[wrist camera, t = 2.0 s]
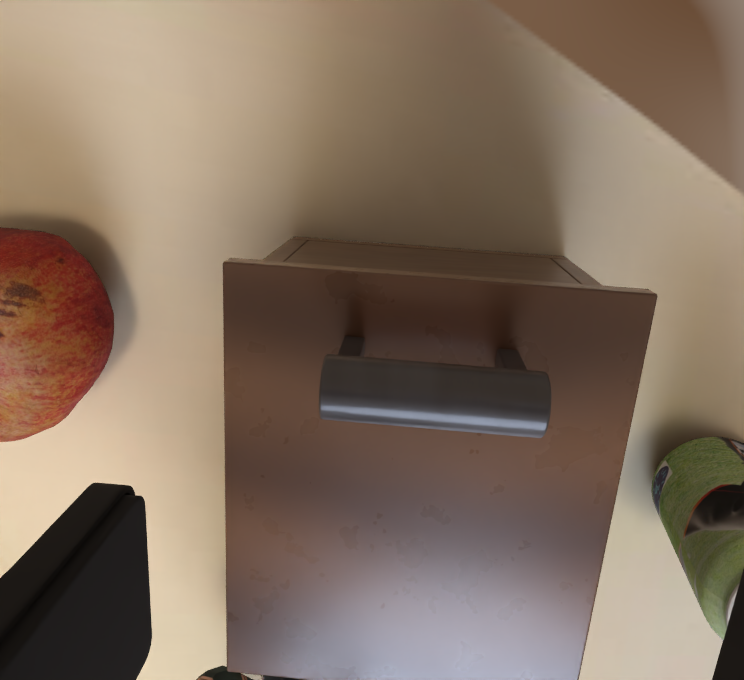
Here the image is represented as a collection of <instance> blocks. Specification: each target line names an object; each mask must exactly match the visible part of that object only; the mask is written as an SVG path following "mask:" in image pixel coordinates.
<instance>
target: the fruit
mask: <svg viewBox="0 0 744 680" xmlns="http://www.w3.org/2000/svg"><path fill="white" fill-rule="evenodd" d="M113 334H114V314H113V310H112V307H111V304H110V301H109V298H108V295H107V292H106V290H105V288H104V286H103V284H102V282H101V280H100V279H99V277H98V275H97V273H96V272H95V271H94V269H93V268H92V266H91V265H90V263H89V262H88V261H87V260H86V259H85V258H84V257H83V256H82V255H81V254H80V253H79V252H78V251H77V250H75V249H74V248H73V247H72V246H71V245H70V244H69V243H68V242H67V241H66V240H65V239H63V238H62V237H60V236H57V235H54V234H50V233H46V232H41V231H33V230H23V229H16V228H1V227H0V442H7V441H16V440H20V439H24V438H27V437H29V436H32V435H34V434H36V433H39V432H41V431H44V430H46V429H48V428H51V427H53V426H55V425H56V424H58V423H60V422H61V421H62V420H63V419H64V418H66V417H67V416H68V415H69V413H70V412H71V411H72V410H73V408H74V407H75V406H76V404H77V403H78V402H79V401H80V400H81V399H82V397H83V396H84V395H85V394H86V393H87V392H88V391H89V389H90V388H91V387H92V386H93V384H94V382H95V381H96V379H97V378H98V377H99V375H100V374H101V372H102V370H103V369H104V367H105V365H106V363H107V361H108V358H109V355H110V352H111V349H112V344H113Z"/></svg>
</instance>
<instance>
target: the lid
mask: <svg viewBox="0 0 744 680" xmlns="http://www.w3.org/2000/svg"><path fill="white" fill-rule="evenodd" d="M656 301H657V294H655V293H654V292H652V291H651V290H649V289H640V288H627V287H613V286H600V285H587V284H573V283H560V282H546V281H533V280H520V279H506V278H493V277H480V276H466V275H453V274H440V273H426V272H413V271H400V270H386V269H373V268H360V267H346V266H333V265H319V264H306V263H293V262H279V261H266V260H253V259H239V258H229V259H228V260H226V261H224V262H223V318H224V419H225V520H226V622H227V671H228V672H237V673H246V674H256V675H265V676H275V677H284V678H294V679H303V680H578V679H579V674H580V669H581V665H582V660H583V655H584V650H585V645H586V640H587V635H588V631H589V626H590V621H591V616H592V611H593V606H594V601H595V597H596V592H597V587H598V582H599V577H600V572H601V567H602V563H603V558H604V553H605V548H606V543H607V538H608V534H609V529H610V524H611V519H612V514H613V509H614V504H615V500H616V495H617V490H618V485H619V480H620V475H621V470H622V466H623V461H624V456H625V451H626V446H627V441H628V436H629V432H630V427H631V422H632V417H633V412H634V407H635V402H636V398H637V393H638V388H639V383H640V378H641V373H642V368H643V364H644V359H645V354H646V349H647V344H648V339H649V334H650V330H651V325H652V320H653V315H654V310H655V305H656Z"/></svg>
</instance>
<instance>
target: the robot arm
mask: <svg viewBox="0 0 744 680" xmlns="http://www.w3.org/2000/svg"><path fill="white" fill-rule="evenodd" d="M151 639H152V628H151V609H150V589H149V570H148V551H147V531H146V512H145V501H144V499H143V497H142V496H135V492H134V490H133V488H132V487H131V486H128V485H117V484H105V483H93V484H91V485H90V486H89V487H88V488H87V489H86V490H85V491H84V492H83V493H82V494H81V495H80V496H79V497H78V498H77V499H76V500H75V501H74V502H73V503H72V504H71V506H70V507H69V508H68V509H67V510H66V511H65V512H64V513H63V514H62V515H61V516H60V517H59V518H58V519H57V520H56V521H55V522H54V523H53V524H52V525H51V526H50V528H49V529H48V530H47V531H46V532H45V533H44V534H43V535H42V536H41V537H40V538H39V539H38V540H37V541H36V542H35V543H34V544H33V545H32V546H31V547H30V549H29V550H28V551H27V552H26V553H25V554H24V555H23V556H22V557H21V558H20V559H19V560H18V561H17V562H16V563H15V564H14V565H13V566H12V567H11V568H10V569H9V570H8V571H7V572H6V573H5V574H4V575H3V576H2V577H1V578H0V680H136V679H137V677H138V675H139V673H140V671H141V669H142V667H143V665H144V663H145V661H146V659H147V656H148V653H149V650H150V646H151ZM712 680H744V569H743V573H742V576H741V580H740V583H739V587H738V590H737V594H736V597H735V601H734V604H733V608H732V612H731V615H730V619H729V622H728V626H727V629H726V633H725V636H724V640H723V643H722V647H721V650H720V654H719V658H718V661H717V665H716V668H715V672H714V675H713V679H712Z"/></svg>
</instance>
